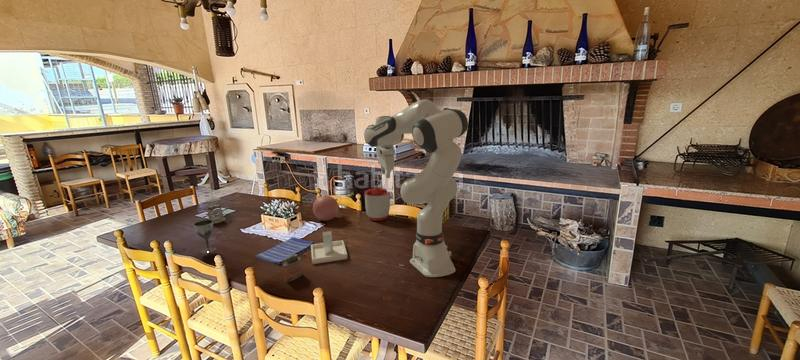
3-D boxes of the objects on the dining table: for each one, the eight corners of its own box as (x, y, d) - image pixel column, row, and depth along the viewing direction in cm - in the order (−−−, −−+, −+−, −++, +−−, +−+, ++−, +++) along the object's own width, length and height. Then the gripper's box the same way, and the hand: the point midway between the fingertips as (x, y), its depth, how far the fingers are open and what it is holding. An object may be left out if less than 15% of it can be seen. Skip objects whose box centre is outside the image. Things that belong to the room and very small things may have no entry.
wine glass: (197, 255, 165) (191, 226, 161) (202, 248, 172) (196, 220, 168) (215, 252, 167) (210, 224, 163) (219, 245, 174) (214, 218, 170)
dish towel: (316, 246, 172) (315, 241, 171) (279, 266, 152) (278, 261, 152) (292, 239, 180) (292, 234, 180) (254, 258, 161) (253, 253, 160)
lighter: (299, 272, 146) (297, 251, 144) (304, 274, 144) (301, 253, 142) (283, 280, 140) (280, 258, 138) (287, 282, 138) (284, 261, 136)
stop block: (333, 253, 161) (331, 234, 158) (324, 254, 160) (323, 235, 157) (332, 249, 164) (331, 231, 162) (324, 251, 163) (322, 232, 161)
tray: (347, 258, 157) (347, 254, 156) (312, 264, 153) (311, 259, 152) (343, 244, 172) (343, 240, 171) (311, 249, 168) (310, 244, 167)
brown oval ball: (348, 215, 213) (347, 191, 209) (329, 226, 196) (326, 201, 192) (329, 211, 220) (327, 189, 216) (308, 222, 203) (306, 198, 199)
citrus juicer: (397, 219, 203) (396, 188, 198) (369, 224, 197) (368, 191, 192) (388, 211, 217) (387, 181, 212) (362, 215, 211) (360, 185, 206)
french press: (209, 218, 213) (202, 180, 206) (229, 216, 216) (223, 179, 210) (205, 224, 204) (198, 184, 197) (226, 221, 207) (220, 182, 201)
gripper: (374, 146, 176) (375, 172, 179) (383, 152, 157) (384, 181, 160) (385, 145, 177) (386, 171, 181) (396, 151, 158) (397, 179, 162)
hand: (385, 175), depth 170 cm, fingers open, 8 cm apart
